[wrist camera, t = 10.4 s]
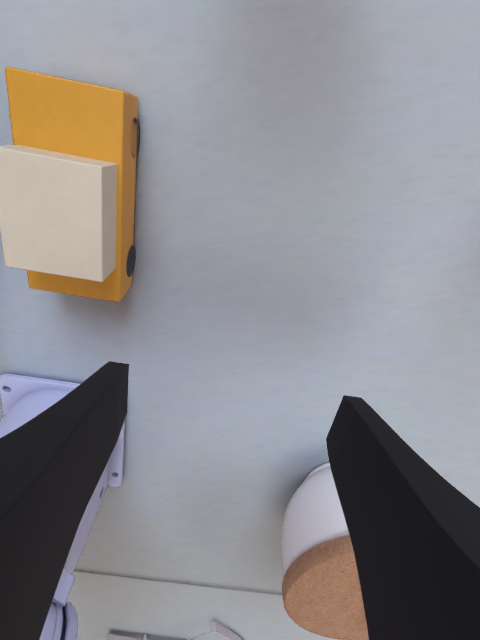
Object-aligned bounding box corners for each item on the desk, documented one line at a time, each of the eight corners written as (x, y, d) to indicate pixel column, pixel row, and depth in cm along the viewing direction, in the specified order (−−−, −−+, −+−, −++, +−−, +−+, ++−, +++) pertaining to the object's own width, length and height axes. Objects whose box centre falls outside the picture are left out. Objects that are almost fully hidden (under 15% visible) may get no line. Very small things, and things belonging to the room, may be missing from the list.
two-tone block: (134, 283, 20) (107, 320, 16) (54, 270, 19) (5, 304, 15) (141, 98, 16) (107, 83, 11) (40, 77, 15) (-32, 54, 11)
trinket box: (434, 452, 26) (526, 600, 18) (373, 535, 31) (423, 682, 22) (298, 425, 25) (328, 571, 16) (256, 516, 29) (263, 665, 21)
